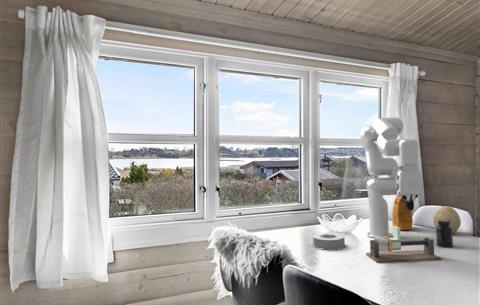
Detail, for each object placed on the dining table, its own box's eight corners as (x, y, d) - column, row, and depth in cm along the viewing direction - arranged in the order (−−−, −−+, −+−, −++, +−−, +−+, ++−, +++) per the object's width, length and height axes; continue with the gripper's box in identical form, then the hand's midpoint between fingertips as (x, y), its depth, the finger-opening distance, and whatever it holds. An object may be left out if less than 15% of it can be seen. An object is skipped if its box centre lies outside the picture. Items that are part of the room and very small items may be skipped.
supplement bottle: (455, 247, 170) (454, 222, 170) (439, 247, 171) (438, 222, 171) (449, 244, 176) (448, 219, 177) (434, 244, 178) (433, 219, 178)
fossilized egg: (461, 232, 200) (460, 205, 200) (460, 237, 190) (459, 208, 190) (435, 230, 207) (434, 204, 207) (433, 235, 196) (432, 207, 196)
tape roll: (339, 251, 171) (339, 240, 171) (308, 248, 179) (308, 237, 179) (348, 244, 184) (348, 234, 184) (319, 241, 192) (319, 231, 192)
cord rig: (366, 255, 163) (365, 235, 163) (425, 252, 164) (424, 233, 164) (377, 262, 151) (376, 242, 151) (440, 259, 152) (440, 239, 152)
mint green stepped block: (387, 247, 160) (386, 226, 160) (396, 247, 160) (395, 226, 160) (391, 250, 155) (390, 228, 156) (401, 250, 156) (400, 228, 156)
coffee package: (408, 226, 219) (407, 190, 219) (414, 231, 207) (413, 192, 207) (390, 227, 221) (389, 190, 221) (395, 231, 208) (394, 192, 209)
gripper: (395, 169, 154) (396, 212, 155) (430, 167, 155) (431, 210, 155) (388, 168, 162) (389, 209, 162) (421, 166, 162) (421, 207, 163)
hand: (409, 209), depth 159 cm, fingers closed
